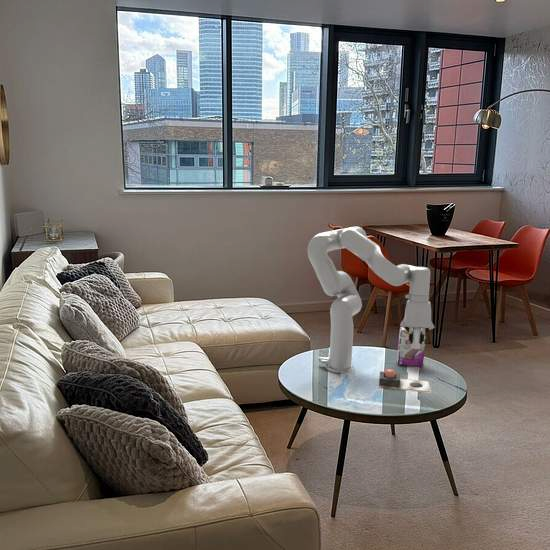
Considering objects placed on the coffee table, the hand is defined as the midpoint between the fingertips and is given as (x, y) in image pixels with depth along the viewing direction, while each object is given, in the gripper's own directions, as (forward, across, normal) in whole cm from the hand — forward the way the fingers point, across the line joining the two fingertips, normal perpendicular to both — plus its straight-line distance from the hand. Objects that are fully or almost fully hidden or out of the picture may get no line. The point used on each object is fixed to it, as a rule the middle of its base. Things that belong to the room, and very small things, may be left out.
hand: (416, 342), depth 232 cm
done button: (+15, -10, -3) cm, 18 cm away
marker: (+2, 0, 0) cm, 2 cm away
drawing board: (+18, -4, -3) cm, 18 cm away
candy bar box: (+18, 0, +24) cm, 30 cm away
